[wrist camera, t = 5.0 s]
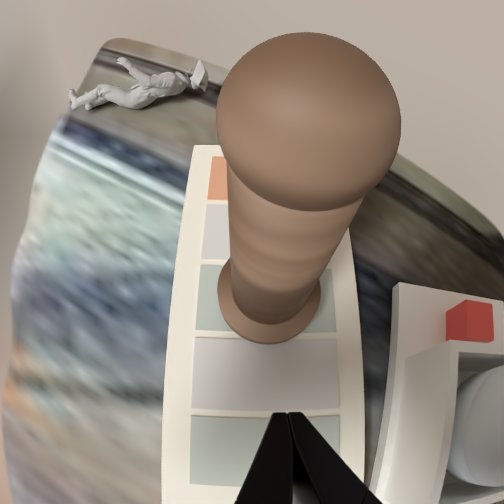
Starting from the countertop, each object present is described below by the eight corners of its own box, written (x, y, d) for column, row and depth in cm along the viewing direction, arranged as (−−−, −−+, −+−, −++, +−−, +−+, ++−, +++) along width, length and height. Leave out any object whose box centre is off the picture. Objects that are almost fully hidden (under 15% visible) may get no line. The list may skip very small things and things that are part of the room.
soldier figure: (101, 95, 28) (207, 48, 26) (112, 136, 29) (221, 93, 27) (55, 88, 21) (181, 22, 18) (67, 138, 22) (198, 77, 20)
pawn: (317, 344, 15) (498, 157, 4) (216, 343, 15) (150, 119, 4) (312, 254, 18) (402, 22, 6) (221, 251, 18) (203, -2, 6)
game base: (479, 499, 12) (535, 508, 7) (361, 518, 12) (405, 550, 7) (494, 306, 18) (545, 274, 13) (392, 288, 18) (437, 245, 14)
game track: (355, 508, 12) (362, 513, 11) (166, 511, 12) (161, 517, 11) (331, 160, 23) (335, 150, 22) (195, 154, 23) (194, 144, 22)
